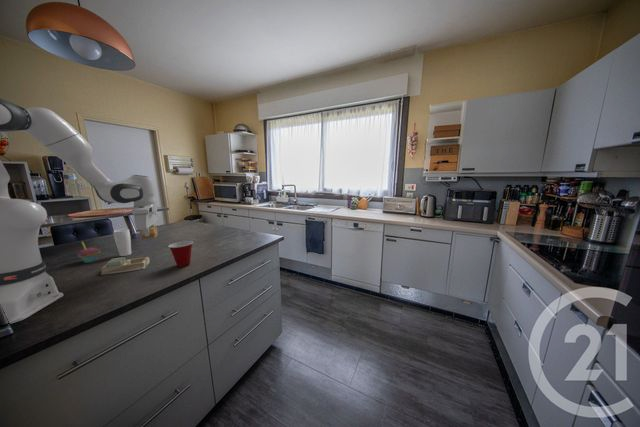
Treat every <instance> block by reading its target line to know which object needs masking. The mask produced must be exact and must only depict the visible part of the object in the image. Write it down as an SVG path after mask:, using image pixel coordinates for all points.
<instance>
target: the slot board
mask: <svg viewBox="0 0 640 427" xmlns="http://www.w3.org/2000/svg"><path fill="white" fill-rule="evenodd" d="M150 263H151V260H150V257H149V256H145V257H138V258H137V257H136V258H135V257H134V258H128V259H126V256H121V257H116V258H111V259H110V260H109V261H107V263H106V264H105V265H103V267H101V269H100V270H101V272H100V273H101V276H104V275H111V274H112V275H113V274H118V273H124V272H125V273H126V272H131V271H132V272H133V271H139V270H144V269H145V268H146V267H147V266H148V265H149V264H150Z"/></svg>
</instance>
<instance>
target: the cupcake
mask: <svg viewBox="0 0 640 427" xmlns="http://www.w3.org/2000/svg"><path fill="white" fill-rule="evenodd" d="M81 244H82V247H83V249H82V250H80V251H78V252H77V253H76V256H77V258H80V259H81V260H82V261H83V262H84V263H92V262H96V261H97V260H98V256H99V255H100V254H101V250H100V249H99V248H97V247H88V248H87V247H86V245H85V243H84V242H83V241H81Z"/></svg>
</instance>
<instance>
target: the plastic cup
mask: <svg viewBox="0 0 640 427" xmlns="http://www.w3.org/2000/svg"><path fill="white" fill-rule="evenodd" d="M193 243H194V241H192V240H184V241H179V242H175V243H174V242H173V243H171V244H169V245H168V248H169V249H170V251H171V253H172V256H173V257H172V258H173V260H174V262H175V264H176V266H177V267H178V268H185V267H188V266H190V264H191V257H192V247H193Z"/></svg>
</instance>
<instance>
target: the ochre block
mask: <svg viewBox="0 0 640 427" xmlns="http://www.w3.org/2000/svg"><path fill="white" fill-rule="evenodd" d="M157 228H158V227H157V226H154V227H149V232H150V235H149V236H145V233H144V231H143V230H140V231H141V237H142V238H141V239H142V240H148V239H156V238H157V237H158V229H157Z"/></svg>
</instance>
